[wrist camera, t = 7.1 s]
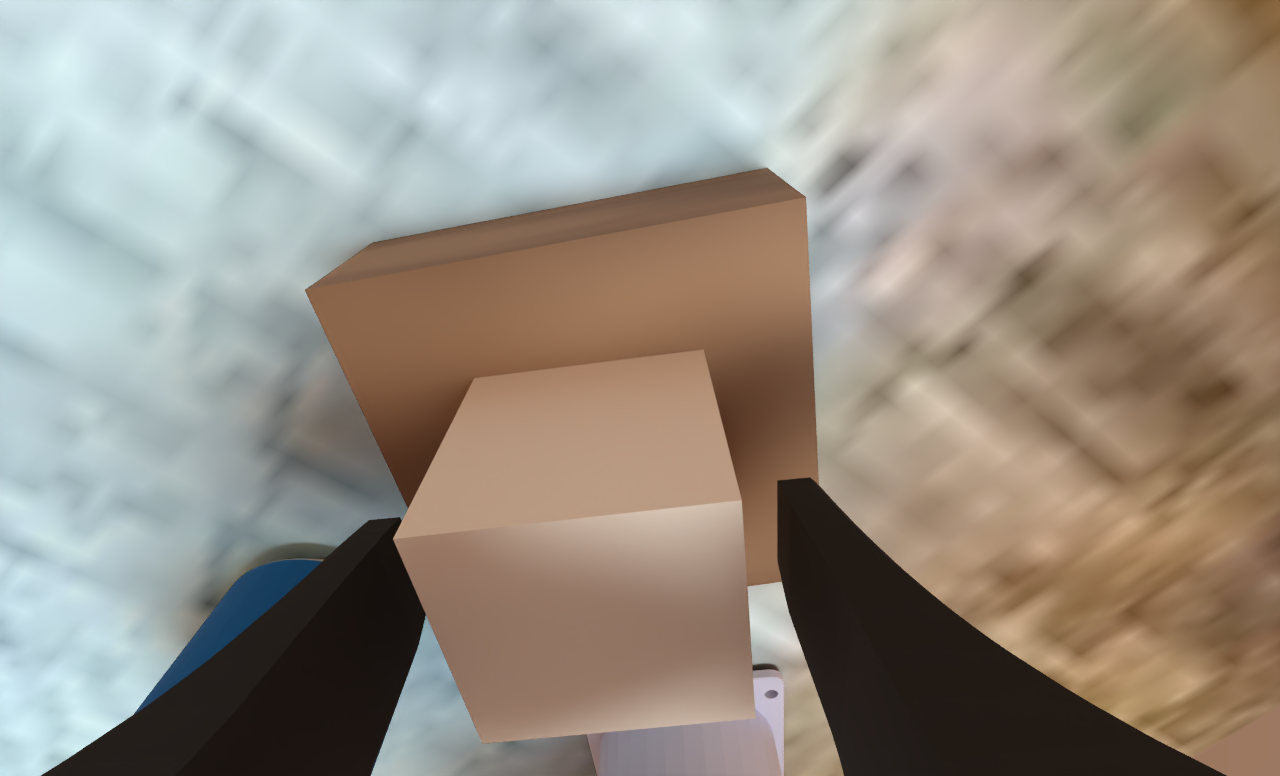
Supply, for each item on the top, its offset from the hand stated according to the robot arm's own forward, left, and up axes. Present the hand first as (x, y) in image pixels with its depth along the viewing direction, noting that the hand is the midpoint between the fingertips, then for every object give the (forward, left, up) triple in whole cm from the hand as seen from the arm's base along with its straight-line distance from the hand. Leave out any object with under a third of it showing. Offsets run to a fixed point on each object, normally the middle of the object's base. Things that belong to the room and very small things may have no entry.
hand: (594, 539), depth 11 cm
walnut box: (0, 0, -7) cm, 7 cm away
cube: (0, 0, -3) cm, 3 cm away
